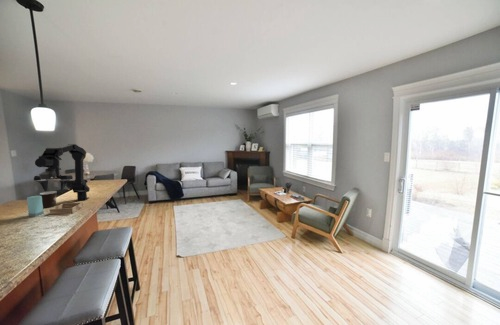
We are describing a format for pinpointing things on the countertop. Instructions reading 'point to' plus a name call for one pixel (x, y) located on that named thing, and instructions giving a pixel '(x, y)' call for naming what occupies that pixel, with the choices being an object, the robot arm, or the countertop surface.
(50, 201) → the coffee mug
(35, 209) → the tea tin
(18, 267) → the countertop surface
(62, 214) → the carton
